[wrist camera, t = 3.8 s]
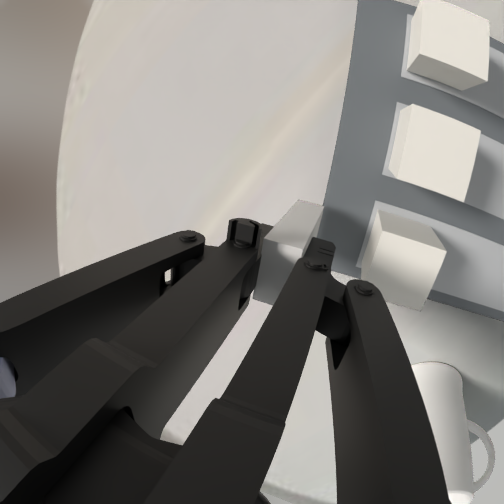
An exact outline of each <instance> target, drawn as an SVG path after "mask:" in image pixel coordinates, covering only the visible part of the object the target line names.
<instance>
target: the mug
mask: <svg viewBox="0 0 504 504" xmlns="http://www.w3.org/2000/svg"><path fill="white" fill-rule="evenodd" d="M411 367H412V370H413V372H414V375H415V378H416V381H417V384H418V387H419V389H420V392H421V395H422V398H423V401H424V405H425V408H426V411H427V414H428V417H429V421H430V424H431V427H432V431H433V434H434V438H435V441H436V445H437V449H438V452H439V456H440V460H441V464H442V468H443V473H444V477H445V482H446V486H447V491H448V496H449V500H450V501H451V503H452V504H470V503H471V502H472V500H473V498H474V492H476V491H477V490H479V489H480V488H481V487H482V486H483V485H484V484H485V483H486V482H487V480H488V479H489V477H490V475H491V473H492V471H493V468H494V463H495V451H494V447H493V443H492V441H491V439H490V437H489V436H488V434H487V433H486V432H485V431H484V429H482V428H481V427H480V426H479V425H478V424H476V423H474V422H472V421H470V420H468V419H467V417H466V411H465V405H464V399H463V393H462V389H463V382H462V378H461V376H460V374H459V372H458V371H457V370H456V369H455V368H453V367H451V366H450V365H447V364H444V363H439V362H423V363H418V364H414V365H411ZM469 431H471V432H472V433H474V434H476V435H477V436H478V437H479V438H480V439H481V440H482V441H483V443H484V445H485V447H486V449H487V452H488V466H487V469H486V471H485V473H484V475H483V476H482V477H481V478H480V479H479V480H478V481H476V482H474V483H473V466H472V455H471V445H470V437H469Z"/></svg>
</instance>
